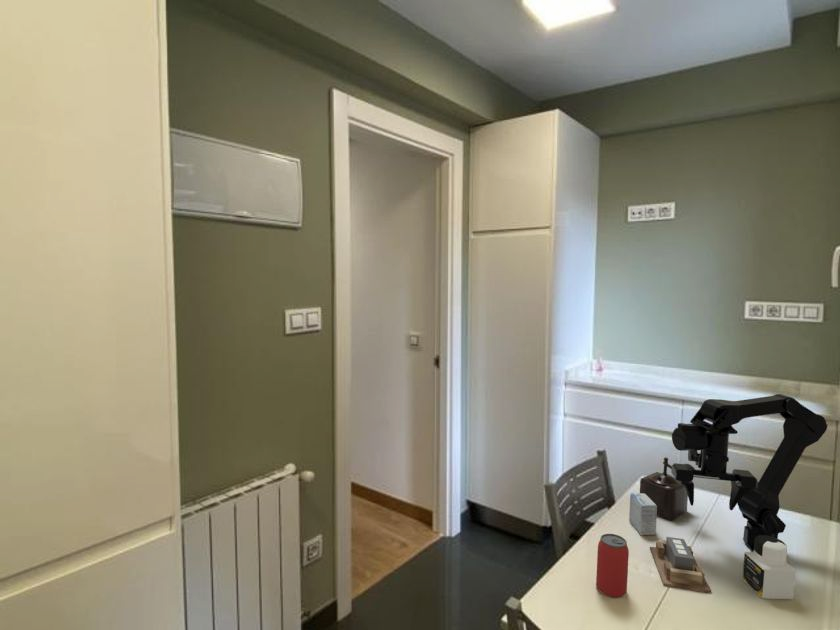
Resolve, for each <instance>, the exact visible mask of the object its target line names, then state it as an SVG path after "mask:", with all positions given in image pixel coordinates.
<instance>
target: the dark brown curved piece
mask: <svg viewBox="0 0 840 630" xmlns="http://www.w3.org/2000/svg"><path fill="white" fill-rule="evenodd" d="M662 464H663V472H658V471H656V472H653V473H651V474H648V475H646V476H644V477H641V478H640V479H639V493H643V494H646V495H647V496H648V497H649V498H650V499H651V500H652V501H653V502H654V503H655V504H656V506H657V517H659V518H663V519H665V520H669V521H674V520H676V519H679V518H680V517H682V516H684V515H685V514H686V513H687V512H688V501H689V498H688V494H687V491H686V488H685V486H684V484H681V482H680V481H678V480H676V479H675V477H674V476H673V475H671V474H668V472H667V471H668V468H669V469H670V470H671V469H672V465H671V464H669V458H668V457H666V456H665V457H664V458H663V462H662ZM686 464H687V465H689V466H690V468H691V469H694V470H696V469H695V467H694V466H693V465H691V463H686Z"/></svg>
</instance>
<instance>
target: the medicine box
mask: <svg viewBox="0 0 840 630" xmlns="http://www.w3.org/2000/svg"><path fill="white" fill-rule="evenodd" d="M629 498H630V499H629V519H628V521H629V523H630V524H631V525H632V527H634V528H635V530H636V531H637V532H638V534H640V535H641V536H656V535H657V517H658V516H657V506H656V504H655V503H654V502H653V501H652V500H651V499H650V498H649V497H648V496H647V495H646V494H643V493H640V492H638V493H635V492H633V493H630V497H629Z"/></svg>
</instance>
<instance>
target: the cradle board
mask: <svg viewBox="0 0 840 630" xmlns="http://www.w3.org/2000/svg"><path fill="white" fill-rule="evenodd" d="M687 546H688V548H689V550H690V552H691V554H692V556H693V558H694V566H693V571H688V570H682V569H675V568H673V567H672V565H671V562H668V561H667V558H666V556H665V553H666V540H660V539H658V541H655V546H649V551H650V553H651V556H652V559H653V561H654V564H655V567H656V569H657V573H658V575H659V579H660V580H661V583H662V585H663V586H664V587H668V588H669V587H670V588H676V589H677V588H678V589H682V590H689V591H694V592H695V591H696V592H701V593H708V594H712V589H711V587H710V585H709V582H708V581H707V579H706V577H705V572H704V570H703V567H702V566H699V564H698V562H697V560H696V557H695V556H694V551H693V549H692V546H690V545H687Z"/></svg>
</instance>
